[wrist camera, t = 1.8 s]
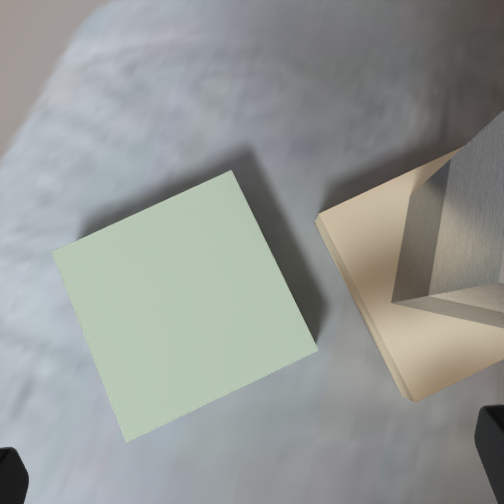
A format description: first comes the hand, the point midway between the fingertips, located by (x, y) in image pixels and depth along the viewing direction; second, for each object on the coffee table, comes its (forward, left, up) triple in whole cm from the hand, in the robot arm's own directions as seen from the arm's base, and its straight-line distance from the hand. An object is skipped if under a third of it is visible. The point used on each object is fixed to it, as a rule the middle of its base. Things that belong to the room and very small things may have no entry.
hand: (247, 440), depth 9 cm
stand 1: (+5, +2, -15) cm, 15 cm away
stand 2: (+1, -11, -15) cm, 18 cm away
